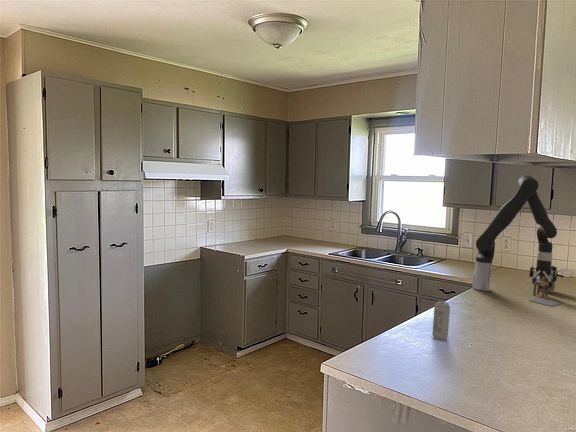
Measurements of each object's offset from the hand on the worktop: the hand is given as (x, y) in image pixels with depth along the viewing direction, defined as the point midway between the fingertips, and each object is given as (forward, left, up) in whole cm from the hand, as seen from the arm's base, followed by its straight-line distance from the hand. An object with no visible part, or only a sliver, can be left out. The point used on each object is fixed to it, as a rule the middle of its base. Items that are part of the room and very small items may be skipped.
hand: (542, 286), depth 249 cm
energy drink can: (+9, -115, -6) cm, 115 cm away
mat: (+7, -13, -6) cm, 16 cm away
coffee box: (-5, +15, -6) cm, 17 cm away
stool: (-1, 0, -6) cm, 6 cm away
